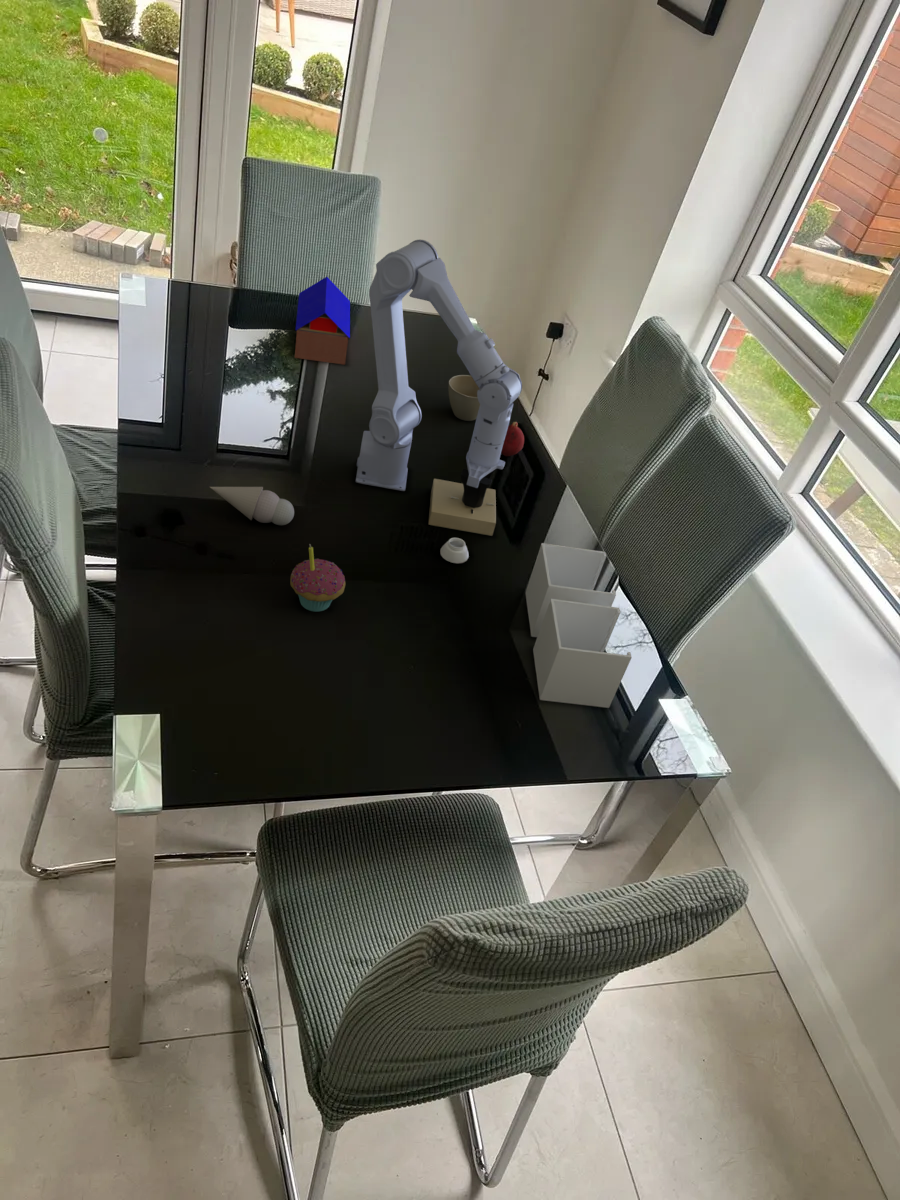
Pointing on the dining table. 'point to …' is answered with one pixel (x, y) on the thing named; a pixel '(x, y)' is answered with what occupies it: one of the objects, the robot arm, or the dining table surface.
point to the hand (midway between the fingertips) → (472, 499)
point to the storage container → (573, 628)
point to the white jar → (455, 551)
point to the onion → (513, 440)
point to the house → (322, 323)
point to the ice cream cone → (258, 504)
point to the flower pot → (464, 397)
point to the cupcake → (317, 582)
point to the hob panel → (461, 509)
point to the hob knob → (479, 499)
